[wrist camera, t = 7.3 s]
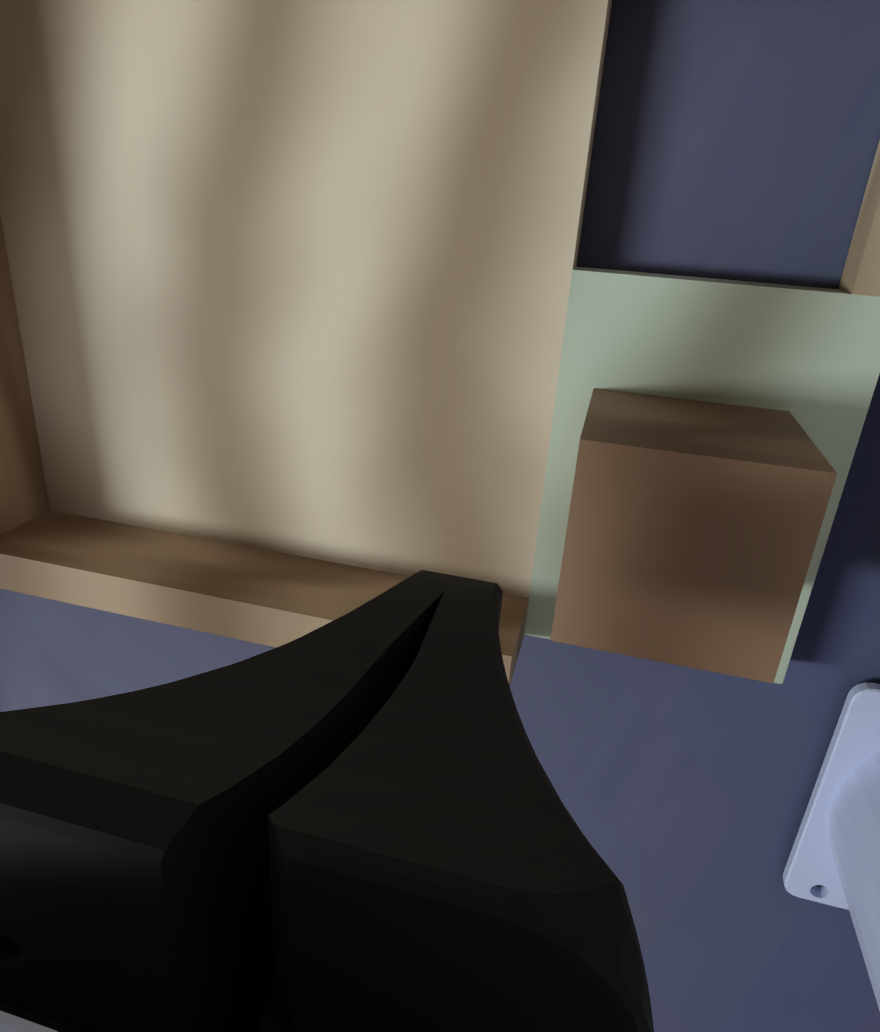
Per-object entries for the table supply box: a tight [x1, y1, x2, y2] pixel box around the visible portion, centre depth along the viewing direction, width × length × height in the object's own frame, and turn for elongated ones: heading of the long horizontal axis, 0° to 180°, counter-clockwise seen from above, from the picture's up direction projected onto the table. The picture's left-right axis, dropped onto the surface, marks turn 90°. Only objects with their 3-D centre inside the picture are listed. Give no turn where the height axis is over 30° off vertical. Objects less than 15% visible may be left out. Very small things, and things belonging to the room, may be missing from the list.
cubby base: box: [0, 0, 880, 686], centre depth 17 cm, size 24×18×4 cm
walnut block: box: [550, 388, 837, 683], centre depth 16 cm, size 4×4×4 cm
